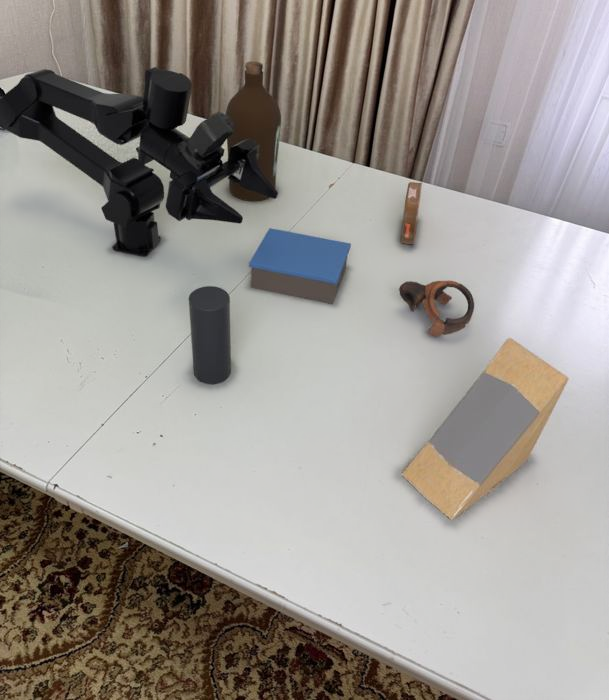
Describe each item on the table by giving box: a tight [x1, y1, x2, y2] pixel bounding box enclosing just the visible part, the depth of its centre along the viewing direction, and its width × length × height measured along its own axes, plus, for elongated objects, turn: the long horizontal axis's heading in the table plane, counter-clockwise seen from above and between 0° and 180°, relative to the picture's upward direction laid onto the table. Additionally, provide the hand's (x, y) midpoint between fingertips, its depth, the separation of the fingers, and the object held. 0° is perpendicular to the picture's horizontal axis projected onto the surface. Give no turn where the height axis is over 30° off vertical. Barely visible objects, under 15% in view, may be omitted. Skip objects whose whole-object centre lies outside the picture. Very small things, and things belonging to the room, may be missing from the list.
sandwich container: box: [401, 337, 569, 521], centre depth 73 cm, size 9×15×15 cm, turn 129°
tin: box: [400, 181, 423, 246], centre depth 118 cm, size 15×3×8 cm, turn 168°
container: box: [248, 227, 352, 305], centre depth 105 cm, size 15×12×5 cm
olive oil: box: [225, 60, 282, 202], centre depth 120 cm, size 11×11×25 cm
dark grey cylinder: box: [188, 285, 232, 385], centre depth 84 cm, size 5×5×13 cm
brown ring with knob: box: [398, 280, 475, 338], centre depth 98 cm, size 12×10×8 cm
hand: (259, 207), depth 91 cm, fingers open, 9 cm apart
